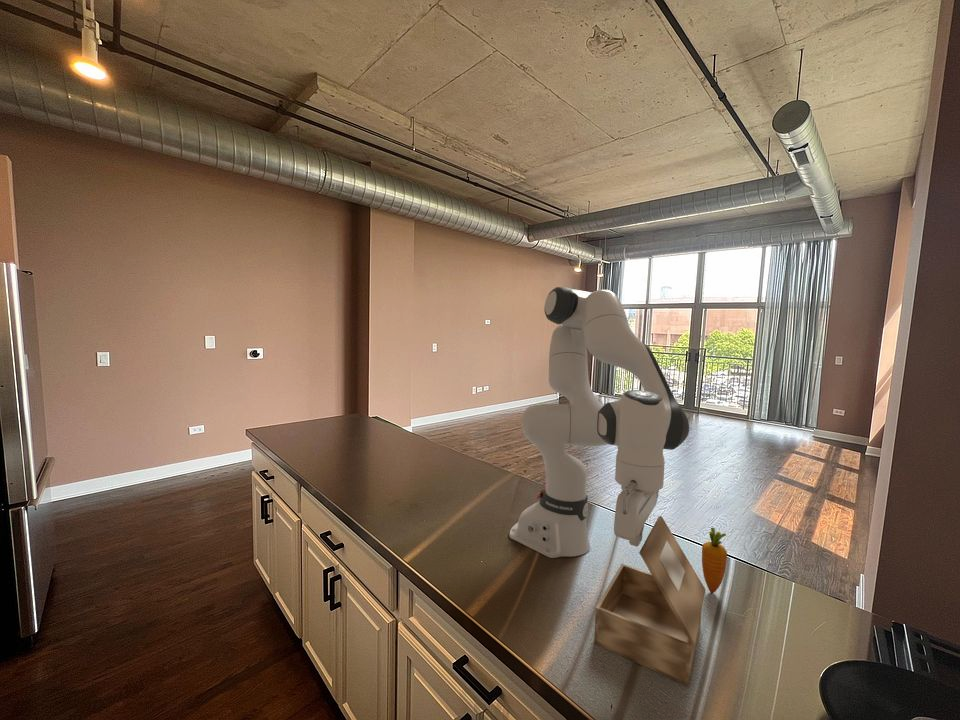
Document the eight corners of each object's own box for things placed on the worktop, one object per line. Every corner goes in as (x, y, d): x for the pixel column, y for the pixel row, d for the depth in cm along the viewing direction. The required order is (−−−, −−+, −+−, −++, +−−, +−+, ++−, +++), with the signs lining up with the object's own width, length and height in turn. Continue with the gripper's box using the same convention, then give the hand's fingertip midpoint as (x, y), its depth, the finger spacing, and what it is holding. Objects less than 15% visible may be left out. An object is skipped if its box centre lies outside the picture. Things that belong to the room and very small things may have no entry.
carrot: (701, 583, 95) (705, 522, 94) (726, 592, 92) (730, 528, 91) (697, 593, 91) (701, 529, 90) (722, 603, 88) (726, 537, 87)
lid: (639, 552, 70) (642, 551, 70) (658, 516, 85) (661, 515, 84) (691, 644, 66) (695, 643, 66) (702, 590, 80) (706, 589, 80)
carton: (593, 643, 75) (595, 607, 75) (620, 593, 90) (621, 563, 90) (688, 687, 66) (691, 646, 66) (700, 624, 81) (702, 590, 81)
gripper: (644, 494, 68) (639, 573, 69) (665, 464, 85) (662, 528, 85) (606, 486, 71) (603, 560, 72) (634, 459, 88) (631, 519, 89)
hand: (635, 542), depth 79 cm, fingers closed
